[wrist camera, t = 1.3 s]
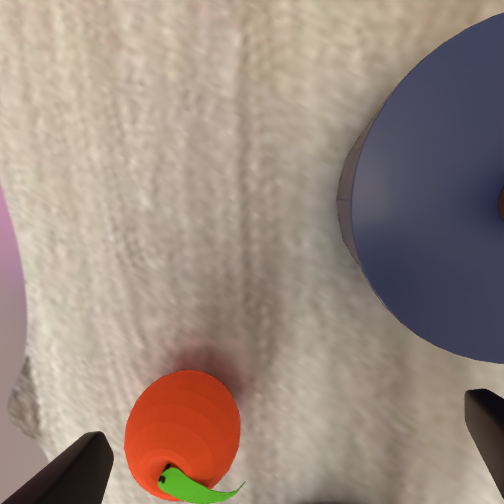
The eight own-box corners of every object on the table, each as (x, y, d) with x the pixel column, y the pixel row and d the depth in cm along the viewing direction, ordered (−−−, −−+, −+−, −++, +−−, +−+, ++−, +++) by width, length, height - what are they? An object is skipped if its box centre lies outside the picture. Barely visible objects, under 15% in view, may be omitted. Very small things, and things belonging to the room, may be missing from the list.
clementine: (278, 390, 22) (274, 480, 15) (230, 460, 24) (207, 572, 17) (179, 332, 22) (130, 395, 15) (138, 406, 24) (76, 494, 17)
